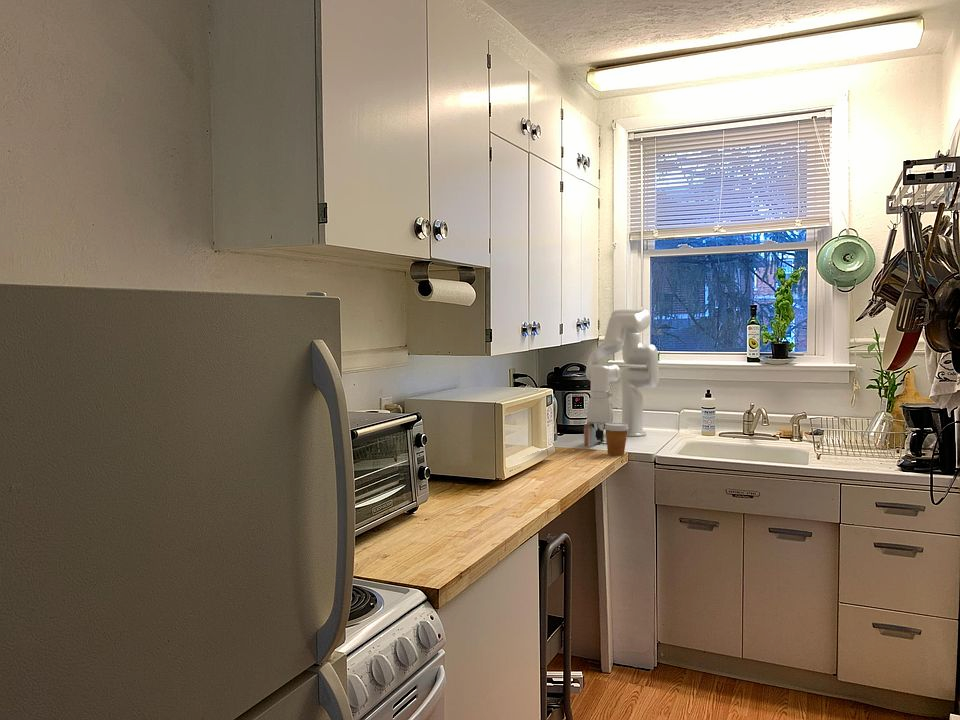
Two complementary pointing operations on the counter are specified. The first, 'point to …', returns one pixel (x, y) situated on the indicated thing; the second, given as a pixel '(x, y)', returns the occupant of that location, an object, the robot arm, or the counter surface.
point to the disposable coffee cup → (616, 438)
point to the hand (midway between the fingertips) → (599, 439)
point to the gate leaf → (590, 435)
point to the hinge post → (602, 442)
